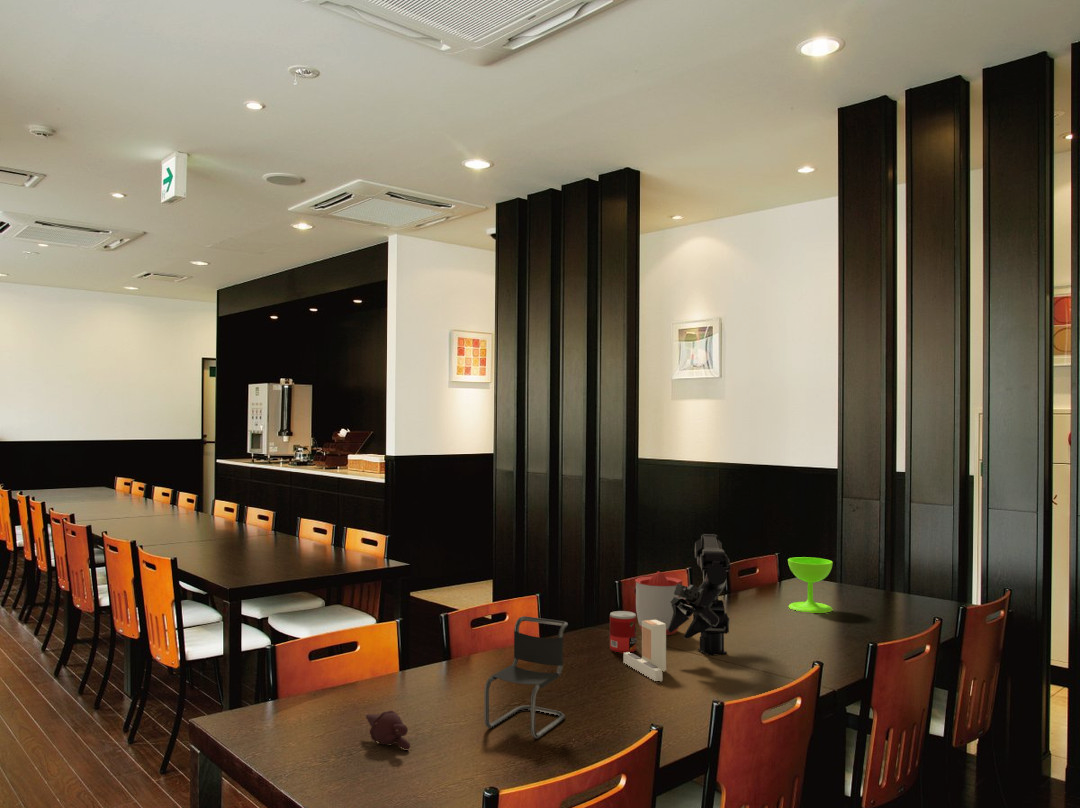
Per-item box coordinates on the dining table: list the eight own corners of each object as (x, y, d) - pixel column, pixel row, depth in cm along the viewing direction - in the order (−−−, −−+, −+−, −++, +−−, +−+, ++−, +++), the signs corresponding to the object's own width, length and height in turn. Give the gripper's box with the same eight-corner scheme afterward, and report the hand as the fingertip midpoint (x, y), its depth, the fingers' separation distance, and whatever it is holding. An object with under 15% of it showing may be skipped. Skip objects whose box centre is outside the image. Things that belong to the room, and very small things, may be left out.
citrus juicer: (684, 640, 250) (684, 577, 251) (630, 635, 256) (630, 573, 257) (691, 628, 265) (691, 569, 266) (640, 624, 271) (640, 566, 271)
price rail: (629, 662, 227) (629, 651, 227) (662, 681, 210) (662, 669, 210) (623, 663, 226) (623, 652, 226) (655, 682, 209) (655, 669, 209)
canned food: (635, 654, 235) (635, 617, 235) (608, 652, 236) (608, 616, 237) (637, 647, 242) (637, 611, 243) (611, 646, 244) (611, 610, 244)
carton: (655, 665, 224) (655, 619, 224) (666, 671, 219) (665, 623, 219) (641, 667, 222) (641, 620, 222) (651, 673, 217) (651, 624, 217)
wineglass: (839, 614, 287) (839, 564, 288) (795, 613, 288) (795, 564, 288) (824, 604, 303) (824, 557, 304) (782, 604, 304) (782, 557, 304)
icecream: (349, 709, 170) (390, 734, 160) (378, 693, 175) (419, 716, 165) (354, 738, 171) (395, 764, 161) (382, 720, 177) (423, 745, 166)
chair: (570, 716, 184) (570, 621, 185) (534, 742, 169) (534, 639, 169) (521, 707, 190) (522, 615, 191) (482, 731, 175) (483, 631, 175)
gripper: (674, 569, 235) (643, 610, 231) (706, 577, 218) (673, 623, 214) (699, 593, 237) (668, 634, 233) (733, 603, 220) (700, 648, 216)
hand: (677, 634), depth 224 cm, fingers open, 9 cm apart
